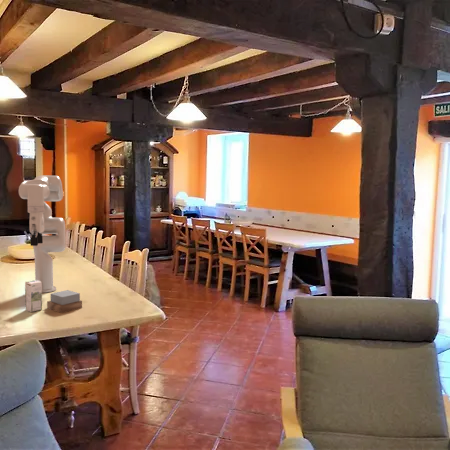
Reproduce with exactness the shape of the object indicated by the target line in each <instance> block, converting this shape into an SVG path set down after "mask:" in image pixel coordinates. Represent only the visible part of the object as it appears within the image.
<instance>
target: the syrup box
mask: <svg viewBox="0 0 450 450" xmlns="http://www.w3.org/2000/svg"><path fill="white" fill-rule="evenodd" d="M24 286H25V287H24V291H25V292H24V293H25V294H24V295H25V297H24V298H25V302H24V303H25V311H27V312H29V313H34V312H38V311H43V293H42V282H40V281H38V280H35V279H34V280H29V281H25V282H24Z"/></svg>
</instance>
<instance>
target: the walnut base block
mask: <svg viewBox="0 0 450 450" xmlns="http://www.w3.org/2000/svg"><path fill="white" fill-rule="evenodd" d="M46 308H47V309H49V310H51V311H54V312H57V313H60V314H63V313H66V312H71V311H74V310H79V309H82V308H83V300H80V301H78V302H74V303H70V304H65V305H60V304H57V303H54V302H51V300H48V301H46Z"/></svg>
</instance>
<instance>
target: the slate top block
mask: <svg viewBox="0 0 450 450" xmlns="http://www.w3.org/2000/svg"><path fill="white" fill-rule="evenodd" d="M80 295H81V293H79V292H77V291H73V290H69V289H67V290H61V291H57V292H52V293H51V292H50V301H51V302H54V303H57V304H60V305H65V304H70V303H74V302H78V301H80V299H81V296H80Z"/></svg>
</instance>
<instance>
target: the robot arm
mask: <svg viewBox="0 0 450 450" xmlns="http://www.w3.org/2000/svg"><path fill="white" fill-rule="evenodd" d="M18 196H19V197H20V198H21V199H23V200H27V213H29V233H30V235H29V236H30V238H29V239H30V246H31V247H33V253H34V254H33V255H34V276H35V277H34V278H35V279H34V280H38V281H40V282H42V294H44V293H51V292H52V293H53V292H54V291H56V290H57V287H56V286H54V262H53V261H54V260H53V257H52V256H51V255H50V254H49V253H62V252H65V250H66V242H67V241H66V239H67V238H66V222H65V219H64V218H63V217H53V216H52V215H53V213H52V212H53V211H52V208H51V207H50V205H49V204H47V202H61V201H62V200H63V198H64V190H63V182H62V180H61V178H60V176H58V175H48V174H47V175H46V174H45V175H44V174H42V175H37V176H36V177H34V179H31V180H26V181H22V182H21V183H20V185H19V186H18Z"/></svg>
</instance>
